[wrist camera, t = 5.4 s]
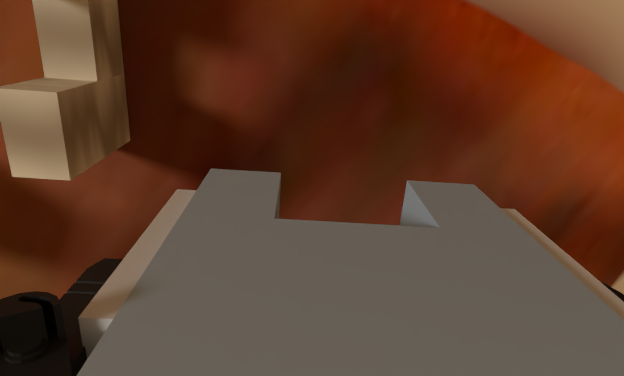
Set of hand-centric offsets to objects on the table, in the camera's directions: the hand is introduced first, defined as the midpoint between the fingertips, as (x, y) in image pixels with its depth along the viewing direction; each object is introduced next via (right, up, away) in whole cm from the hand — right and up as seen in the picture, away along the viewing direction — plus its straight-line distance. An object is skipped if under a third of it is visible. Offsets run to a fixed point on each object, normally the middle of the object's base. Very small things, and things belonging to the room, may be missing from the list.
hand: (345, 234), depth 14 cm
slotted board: (-15, +12, +12) cm, 23 cm away
